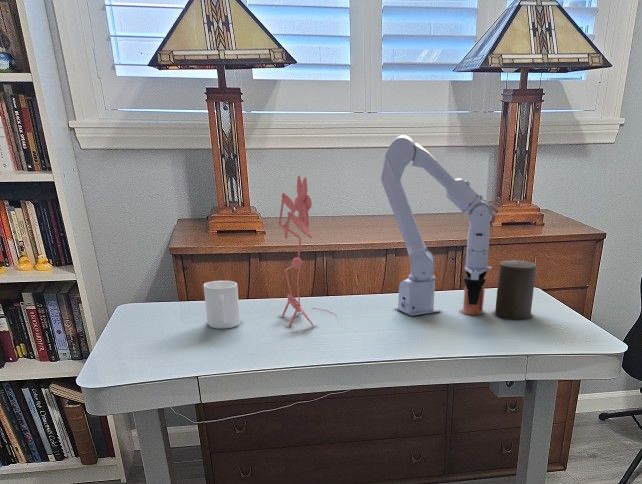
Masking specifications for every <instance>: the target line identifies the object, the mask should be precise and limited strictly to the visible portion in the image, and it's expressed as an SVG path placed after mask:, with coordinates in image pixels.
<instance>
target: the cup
mask: <svg viewBox="0 0 642 484" xmlns="http://www.w3.org/2000/svg"><path fill="white" fill-rule="evenodd" d="M203 294H204V295H203V296H204V303H205V312H206V321H207V325H208V326H209V327H210V328H213V329H223V330H224V329H231V328H235V327H237V326H239V325H240V324H241V313H240V300H239V288H238V283H237V282H235V281H232V280H212V281H208V282H205V283H203Z"/></svg>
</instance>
